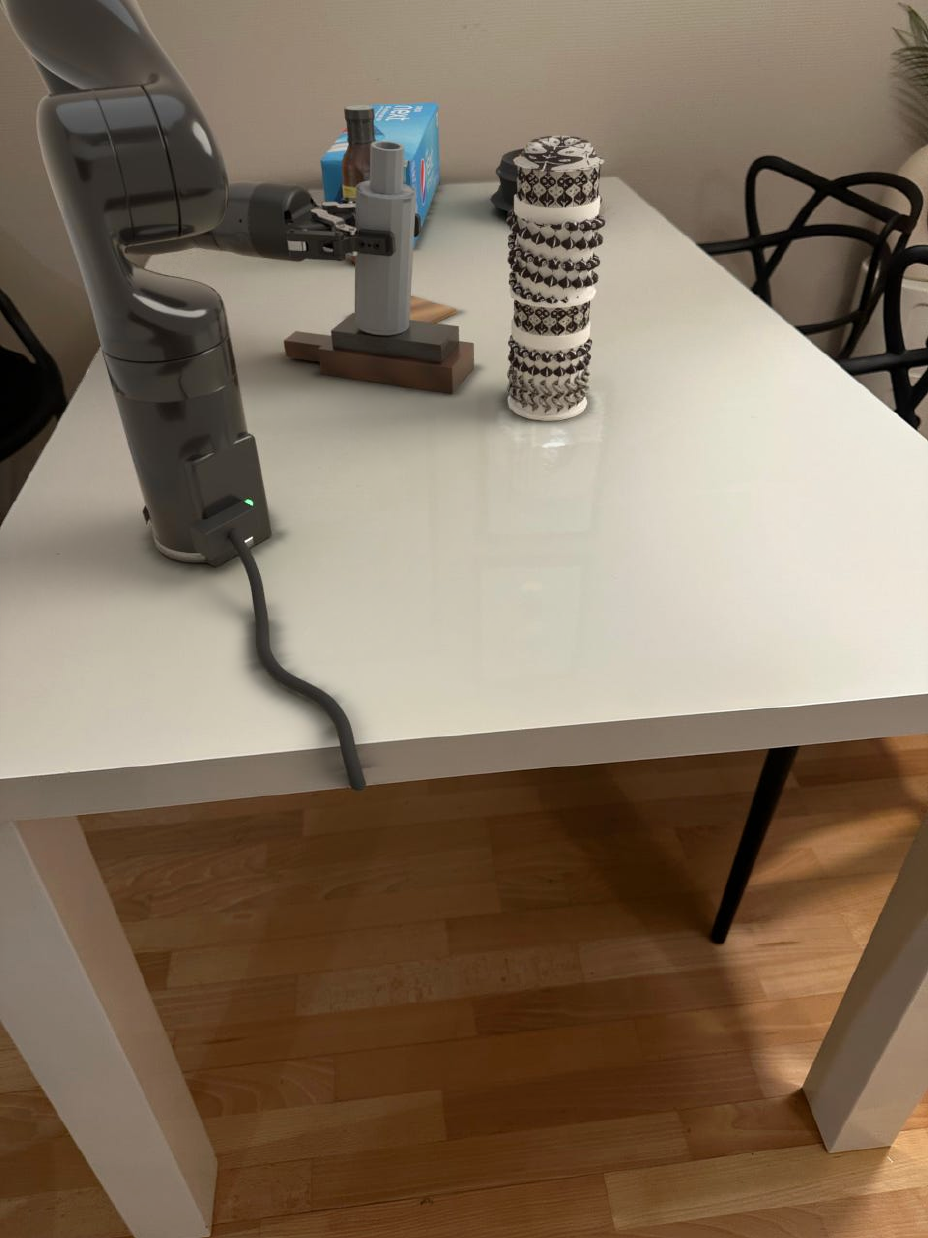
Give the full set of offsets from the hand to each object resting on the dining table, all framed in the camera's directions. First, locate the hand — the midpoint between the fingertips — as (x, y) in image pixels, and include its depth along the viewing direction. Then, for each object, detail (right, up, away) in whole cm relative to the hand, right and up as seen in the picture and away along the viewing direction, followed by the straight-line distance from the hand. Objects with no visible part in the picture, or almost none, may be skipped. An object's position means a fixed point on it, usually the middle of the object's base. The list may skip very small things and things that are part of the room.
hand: (406, 234), depth 92 cm
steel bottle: (-3, -7, +7) cm, 10 cm away
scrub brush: (-4, -11, +11) cm, 16 cm away
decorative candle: (+15, -17, +4) cm, 22 cm away
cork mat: (-2, 0, +23) cm, 23 cm away
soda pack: (-7, +29, +60) cm, 67 cm away
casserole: (+20, +29, +59) cm, 68 cm away
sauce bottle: (-8, +14, +41) cm, 43 cm away
